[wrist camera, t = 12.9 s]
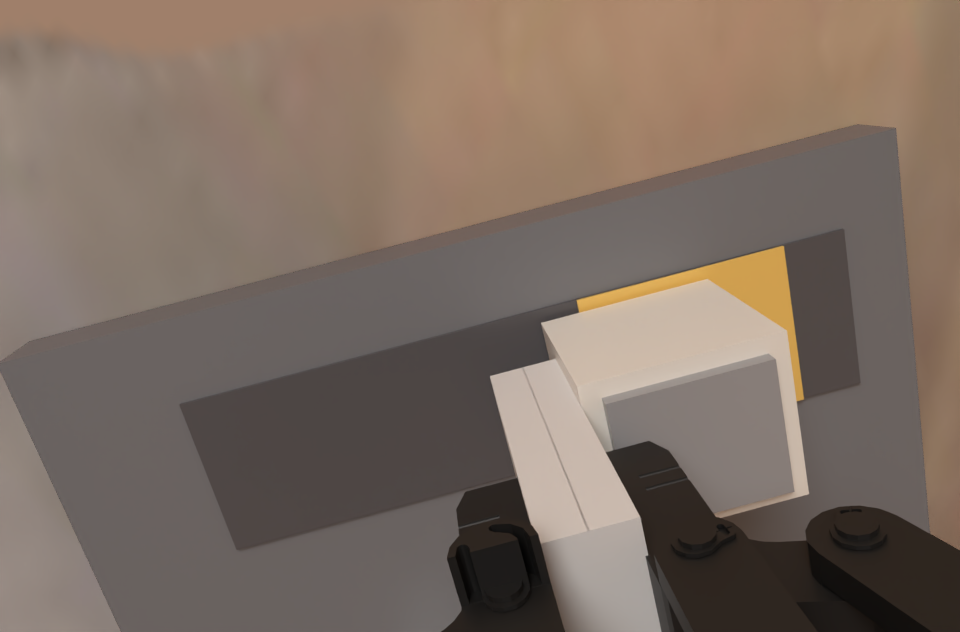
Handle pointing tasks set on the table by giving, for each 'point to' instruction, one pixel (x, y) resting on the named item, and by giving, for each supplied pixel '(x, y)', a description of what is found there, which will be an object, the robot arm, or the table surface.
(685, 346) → the slider
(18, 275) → the table surface
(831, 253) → the switch board
